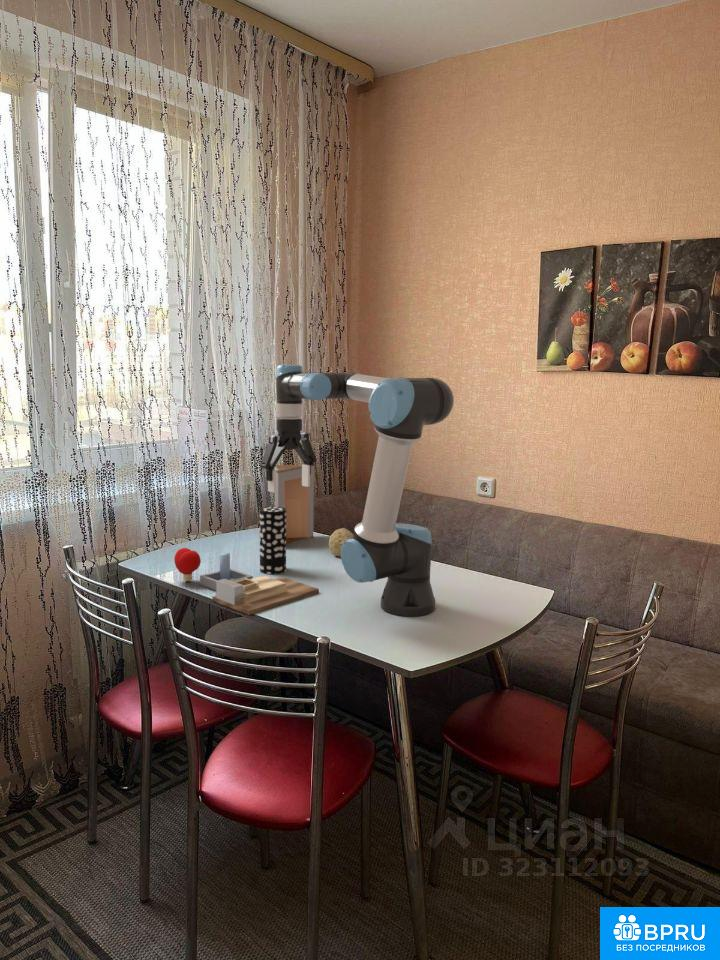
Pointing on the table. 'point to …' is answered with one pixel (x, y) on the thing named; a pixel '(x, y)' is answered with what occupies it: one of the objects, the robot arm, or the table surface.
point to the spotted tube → (273, 540)
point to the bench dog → (229, 591)
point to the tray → (211, 578)
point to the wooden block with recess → (260, 588)
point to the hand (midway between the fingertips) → (289, 489)
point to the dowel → (224, 566)
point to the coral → (339, 540)
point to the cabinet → (295, 502)
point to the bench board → (273, 597)
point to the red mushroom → (187, 562)
